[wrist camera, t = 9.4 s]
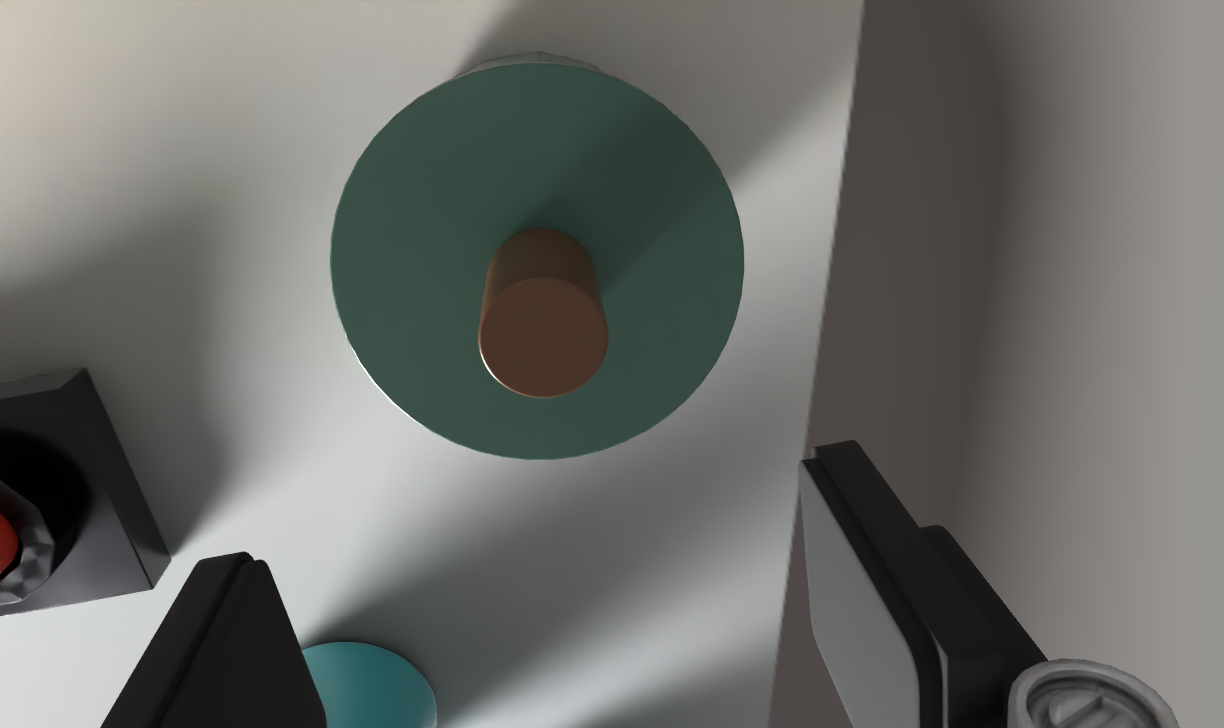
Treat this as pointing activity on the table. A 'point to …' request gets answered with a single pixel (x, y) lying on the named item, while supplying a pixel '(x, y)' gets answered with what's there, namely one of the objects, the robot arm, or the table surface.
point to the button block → (70, 499)
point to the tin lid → (537, 261)
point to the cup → (369, 687)
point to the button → (7, 543)
